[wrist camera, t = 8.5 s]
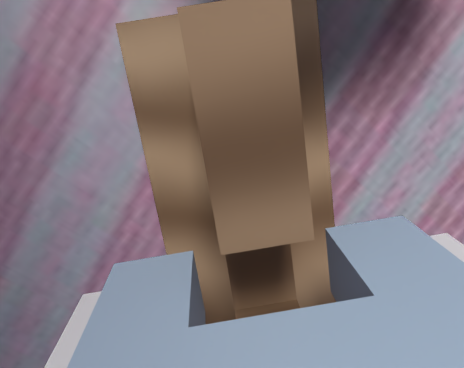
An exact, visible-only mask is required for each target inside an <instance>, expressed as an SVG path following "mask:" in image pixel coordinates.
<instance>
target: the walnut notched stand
mask: <svg viewBox="0 0 464 368" xmlns="http://www.w3.org/2000/svg"><path fill="white" fill-rule="evenodd" d="M177 11H178V14H175V15H169V16H162V17H156V18H149V19H143V20H136V21H130V22H124V23H117V24H116V28H117V33H118V37H119V42H120V46H121V51H122V55H123V60H124V64H125V69H126V73H127V78H128V82H129V87H130V91H131V96H132V100H133V105H134V109H135V114H136V118H137V123H138V127H139V132H140V136H141V141H142V145H143V150H144V154H145V159H146V163H147V168H148V172H149V177H150V181H151V186H152V190H153V195H154V199H155V204H156V208H157V213H158V217H159V222H160V226H161V231H162V235H163V240H164V244H165V249H166V253H167V255H169V254H175V253H181V252H187V251H193V253H194V258H195V263H196V268H197V273H198V278H199V283H200V288H201V293H202V298H203V303H204V308H205V324H211V323H217V322H223V321H229V320H235V319H240V318H246V317H252V316H258V315H264V314H270V313H276V312H281V311H287V310H293V309H299V308H305V307H311V306H316V305H322V304H328V303H334V302H336V300H335V298H334V297H333V295H332V293H331V289H330V278H329V267H328V255H327V244H326V233H325V228H331V227H335V225H334V213H333V200H332V188H331V175H330V163H329V150H328V138H327V125H326V113H325V101H324V88H323V76H322V63H321V51H320V38H319V26H318V14H317V1H316V0H223V1H216V2H210V3H203V4H197V5H190V6H184V7H177Z"/></svg>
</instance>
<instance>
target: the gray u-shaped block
mask: <svg viewBox="0 0 464 368" xmlns="http://www.w3.org/2000/svg"><path fill="white" fill-rule="evenodd" d="M325 233H326V244H327V255H328V267H329V278H330V289H331V293H332V295H333V297H334V298H335V300H336V302H334V303H328V304H322V305H316V306H311V307H305V308H299V309H293V310H287V311H281V312H276V313H270V314H264V315H258V316H252V317H246V318H240V319H235V320H229V321H223V322H217V323H211V324H205V308H204V303H203V298H202V293H201V288H200V283H199V278H198V273H197V268H196V263H195V258H194V253H193V251H187V252H181V253H175V254H169V255H163V256H157V257H151V258H145V259H140V260H134V261H128V262H122V263H116V264H114V265H113V267H112V270H111V272H110V274H109V276H108V278H107V281H106V283H105V285H104V287H103V289H102V292H101V294H100V296H99V298H98V300H97V303H96V305H95V307H94V309H93V311H92V314H91V316H90V318H89V320H88V323H87V325H86V327H85V329H84V331H83V334H82V336H81V338H80V340H79V342H78V345H77V347H76V349H75V351H74V353H73V356H72V358H71V360H70V362H69V364H68V367H67V368H464V262H463V261H461V260H460V259H459V258H457V257H456V256H455V255H453V254H452V253H451V252H450V251H448V250H447V249H446V248H444V247H443V246H442V245H440V244H439V243H438V242H436V241H435V240H434V239H432V238H431V237H430V236H429V235H427V234H426V233H425V232H423V231H422V230H421V229H419V228H418V227H417V226H415V225H414V224H413V223H412V222H410V221H409V220H408V219H406V218H405V217H404V216H396V217H390V218H384V219H378V220H372V221H366V222H360V223H355V224H349V225H343V226H337V227H331V228H325Z"/></svg>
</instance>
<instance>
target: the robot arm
mask: <svg viewBox="0 0 464 368" xmlns="http://www.w3.org/2000/svg"><path fill="white" fill-rule="evenodd" d="M430 237H431V238H432V239H434V240H435V241H436V242H438V243H439V244H440V245H442V246H443V247H444V248H446V249H447V250H448V251H450V252H451V253H452V254H453V255H455V256H456V257H457V258H459V259H460V260H461V261H463V262H464V245H463V244H462V243H460V242H459V241H457V240H456V239H454V238H453V237H452V236H450V235H449V234H447V233H444V234H438V235H432V236H430ZM101 292H102V291H100V292H94V293H88V294H83V295H82V297H81V299H80V301H79V303H78V305H77V307H76V308H75V310H74V312H73V314H72V316H71V318H70V320H69V322H68V324H67V326H66V327H65V329H64V331H63V333H62V335H61V337H60V339H59V341H58V343H57V344H56V346H55V348H54V350H53V352H52V354H51V356H50V358H49V360H48V361H47V363H46V365H45V367H44V368H67V367H68V364H69V362H70V360H71V358H72V356H73V353H74V351H75V349H76V347H77V345H78V342H79V340H80V338H81V336H82V334H83V331H84V329H85V327H86V325H87V323H88V320H89V318H90V316H91V314H92V311H93V309H94V307H95V305H96V303H97V300H98V298H99V296H100V294H101Z"/></svg>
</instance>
